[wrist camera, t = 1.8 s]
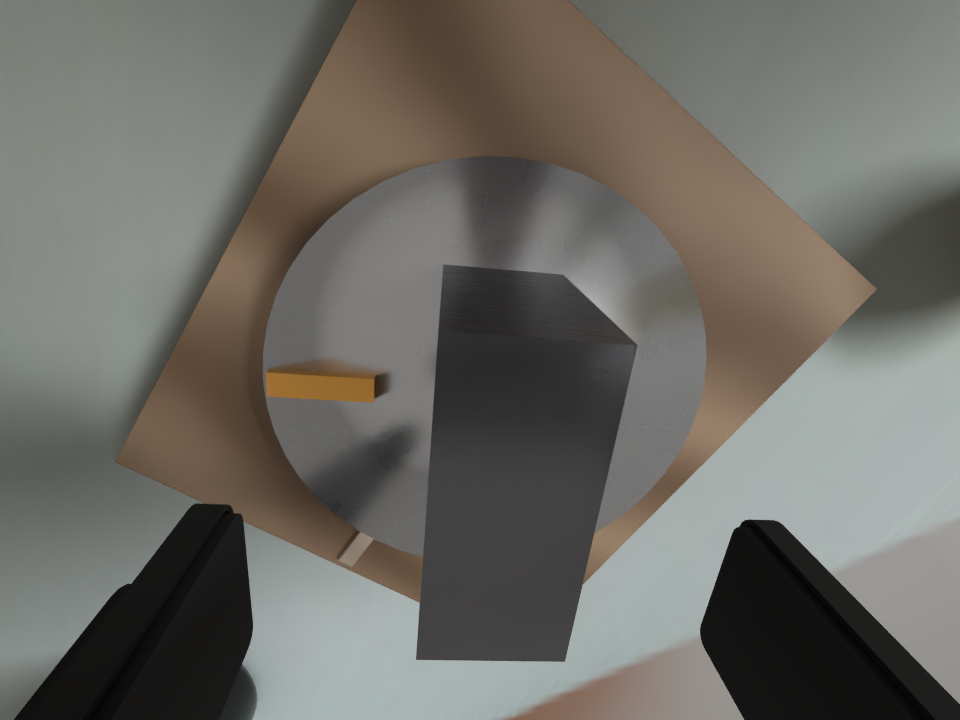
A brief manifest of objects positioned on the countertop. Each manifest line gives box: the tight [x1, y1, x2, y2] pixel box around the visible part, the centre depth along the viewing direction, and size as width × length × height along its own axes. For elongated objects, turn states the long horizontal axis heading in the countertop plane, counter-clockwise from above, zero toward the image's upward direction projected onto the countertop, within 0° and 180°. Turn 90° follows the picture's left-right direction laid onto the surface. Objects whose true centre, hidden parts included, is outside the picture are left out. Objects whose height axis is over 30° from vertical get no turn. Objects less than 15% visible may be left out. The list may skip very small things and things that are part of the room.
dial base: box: [115, 0, 877, 602], centre depth 17 cm, size 20×18×2 cm
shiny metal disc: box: [263, 156, 707, 662], centre depth 13 cm, size 14×14×7 cm
